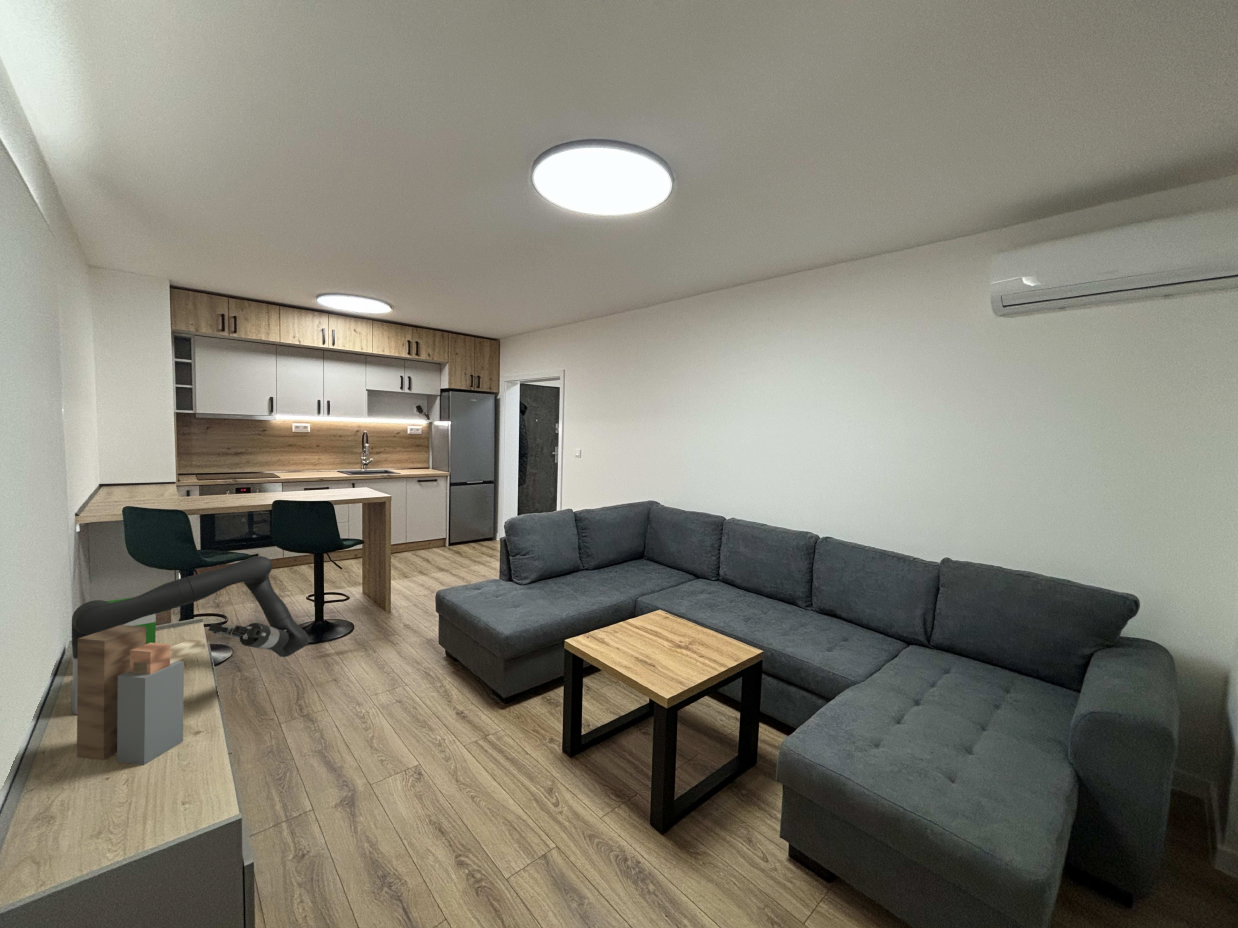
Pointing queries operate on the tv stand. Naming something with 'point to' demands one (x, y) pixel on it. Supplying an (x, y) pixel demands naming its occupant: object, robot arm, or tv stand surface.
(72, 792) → the tv stand surface
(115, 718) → the tall stand
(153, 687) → the tall grey block
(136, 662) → the two-tone block
